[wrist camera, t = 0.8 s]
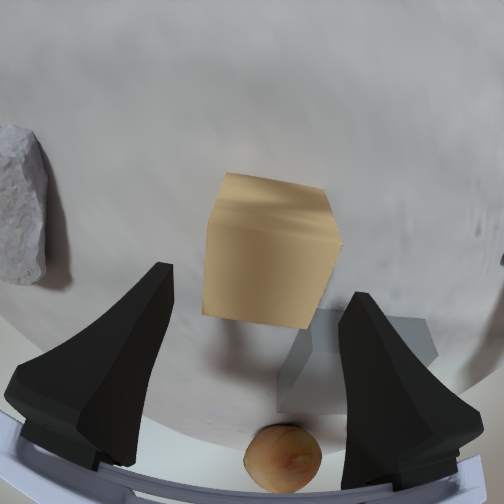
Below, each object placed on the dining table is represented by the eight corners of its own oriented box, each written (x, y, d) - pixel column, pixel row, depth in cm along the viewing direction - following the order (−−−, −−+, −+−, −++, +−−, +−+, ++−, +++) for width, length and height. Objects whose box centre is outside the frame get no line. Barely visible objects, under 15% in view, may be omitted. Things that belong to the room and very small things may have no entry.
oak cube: (323, 188, 15) (343, 244, 11) (300, 264, 18) (307, 329, 14) (226, 171, 14) (208, 222, 10) (217, 250, 17) (201, 314, 13)
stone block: (61, 114, 14) (-36, 126, 12) (23, 140, 11) (-74, 153, 8) (77, 255, 21) (-8, 246, 19) (59, 298, 18) (-30, 283, 16)
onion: (239, 415, 32) (232, 489, 24) (321, 411, 31) (324, 488, 23) (253, 437, 38) (249, 497, 30) (320, 434, 36) (321, 495, 28)
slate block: (423, 315, 20) (438, 355, 17) (371, 379, 26) (377, 413, 23) (308, 303, 20) (312, 351, 17) (277, 374, 26) (276, 412, 23)
